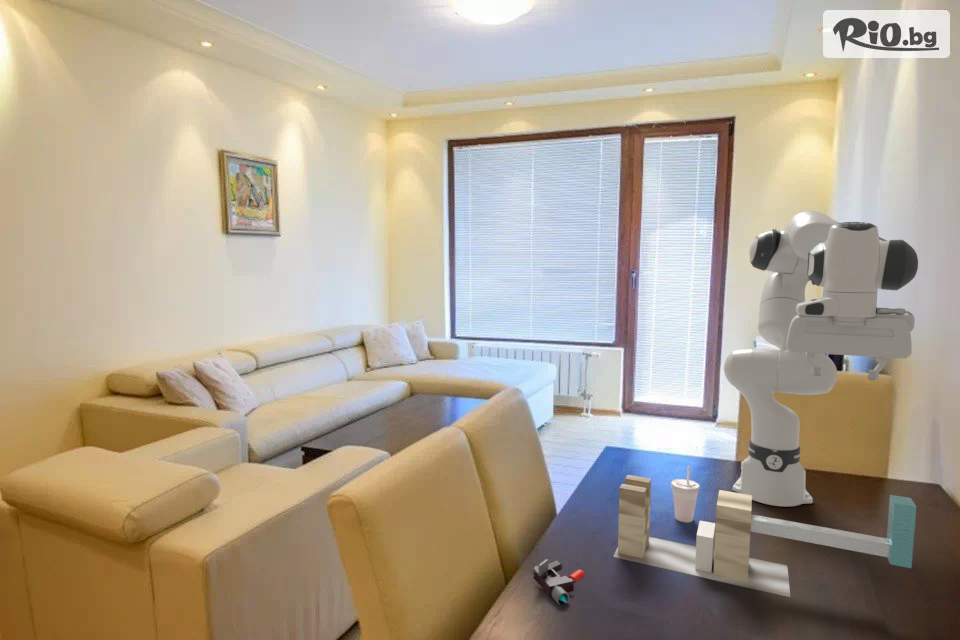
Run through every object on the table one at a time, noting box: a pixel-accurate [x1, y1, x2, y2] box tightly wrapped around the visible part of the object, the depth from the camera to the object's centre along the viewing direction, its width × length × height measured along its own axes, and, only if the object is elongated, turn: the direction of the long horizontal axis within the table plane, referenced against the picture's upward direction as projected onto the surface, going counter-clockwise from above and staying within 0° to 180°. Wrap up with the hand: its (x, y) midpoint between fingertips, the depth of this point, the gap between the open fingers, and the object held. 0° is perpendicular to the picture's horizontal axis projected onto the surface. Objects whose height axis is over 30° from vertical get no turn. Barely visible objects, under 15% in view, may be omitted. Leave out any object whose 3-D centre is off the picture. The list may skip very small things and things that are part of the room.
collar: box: [695, 520, 716, 573], centre depth 113 cm, size 7×3×7 cm, turn 154°
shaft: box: [750, 494, 917, 569], centre depth 104 cm, size 4×27×11 cm, turn 64°
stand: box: [613, 474, 791, 598], centre depth 113 cm, size 12×32×15 cm, turn 64°
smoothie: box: [670, 465, 701, 523], centre depth 133 cm, size 6×6×14 cm
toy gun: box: [533, 558, 586, 606], centre depth 107 cm, size 10×12×5 cm
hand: (843, 377), depth 109 cm, fingers open, 8 cm apart
